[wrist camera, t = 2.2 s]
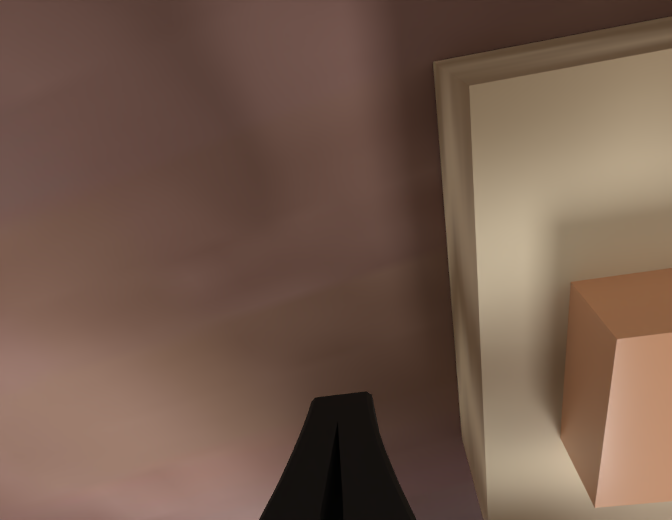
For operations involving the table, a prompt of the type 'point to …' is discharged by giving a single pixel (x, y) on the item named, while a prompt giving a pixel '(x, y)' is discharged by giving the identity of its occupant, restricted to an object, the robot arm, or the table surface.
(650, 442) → the tile
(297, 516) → the robot arm
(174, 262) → the table surface
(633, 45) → the beige square tray
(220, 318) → the table surface
